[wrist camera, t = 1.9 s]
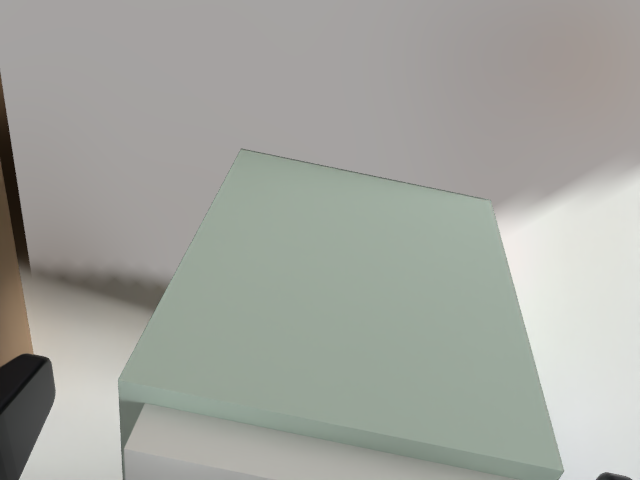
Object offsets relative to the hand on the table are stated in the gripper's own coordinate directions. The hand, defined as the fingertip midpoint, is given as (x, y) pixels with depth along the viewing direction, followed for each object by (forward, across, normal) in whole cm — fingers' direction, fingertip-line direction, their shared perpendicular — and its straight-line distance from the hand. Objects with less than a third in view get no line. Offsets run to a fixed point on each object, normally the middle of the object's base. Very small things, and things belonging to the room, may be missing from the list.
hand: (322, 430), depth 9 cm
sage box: (+4, 0, 0) cm, 4 cm away
